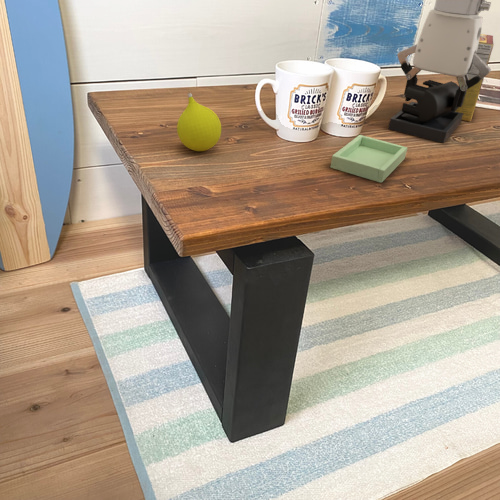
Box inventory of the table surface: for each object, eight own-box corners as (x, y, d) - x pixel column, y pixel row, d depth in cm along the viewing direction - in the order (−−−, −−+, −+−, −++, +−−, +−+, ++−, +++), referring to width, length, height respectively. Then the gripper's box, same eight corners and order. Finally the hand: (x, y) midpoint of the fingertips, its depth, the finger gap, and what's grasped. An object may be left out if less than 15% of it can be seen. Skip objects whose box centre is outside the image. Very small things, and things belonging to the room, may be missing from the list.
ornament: (177, 140, 87) (176, 81, 81) (219, 141, 87) (221, 82, 82) (176, 158, 81) (175, 95, 75) (221, 158, 82) (223, 96, 76)
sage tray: (404, 158, 86) (407, 147, 85) (381, 183, 78) (384, 170, 77) (357, 145, 90) (359, 134, 89) (330, 167, 81) (332, 155, 80)
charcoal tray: (460, 123, 103) (463, 113, 102) (443, 143, 94) (446, 132, 92) (409, 111, 108) (411, 101, 106) (387, 129, 98) (390, 118, 97)
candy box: (451, 106, 112) (473, 32, 104) (472, 109, 111) (495, 35, 103) (449, 118, 105) (471, 40, 97) (470, 122, 104) (495, 43, 96)
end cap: (431, 130, 95) (440, 94, 91) (398, 119, 99) (406, 84, 95) (456, 119, 101) (466, 85, 97) (424, 109, 105) (433, 75, 101)
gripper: (514, 10, 88) (481, 110, 97) (414, -4, 95) (394, 90, 104) (507, 15, 82) (473, 120, 92) (402, 0, 89) (381, 99, 99)
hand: (431, 104), depth 98 cm, fingers closed on end cap, 8 cm apart
